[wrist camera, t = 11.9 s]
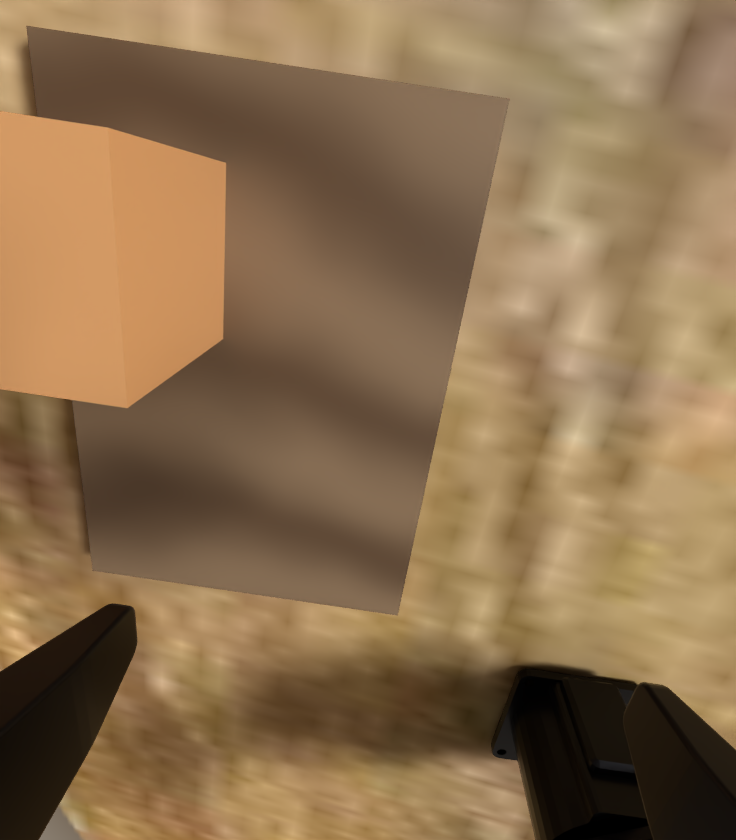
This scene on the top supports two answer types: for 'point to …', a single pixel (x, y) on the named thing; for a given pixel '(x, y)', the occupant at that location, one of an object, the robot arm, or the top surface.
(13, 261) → the square block
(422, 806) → the top surface
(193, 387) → the walnut board
